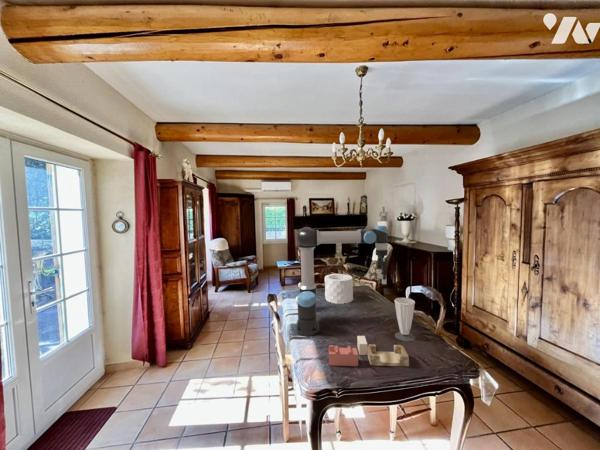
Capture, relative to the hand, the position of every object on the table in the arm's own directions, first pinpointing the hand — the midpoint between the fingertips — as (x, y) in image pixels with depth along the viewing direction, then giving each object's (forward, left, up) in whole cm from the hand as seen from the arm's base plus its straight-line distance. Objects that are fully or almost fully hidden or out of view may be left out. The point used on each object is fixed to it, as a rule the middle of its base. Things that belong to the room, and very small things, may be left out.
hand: (381, 281), depth 173 cm
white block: (-18, -36, -28) cm, 49 cm away
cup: (+9, -19, -28) cm, 35 cm away
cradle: (-7, -44, -28) cm, 53 cm away
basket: (-26, +48, -28) cm, 61 cm away
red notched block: (-29, -47, -28) cm, 62 cm away
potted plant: (-54, +22, -28) cm, 65 cm away
